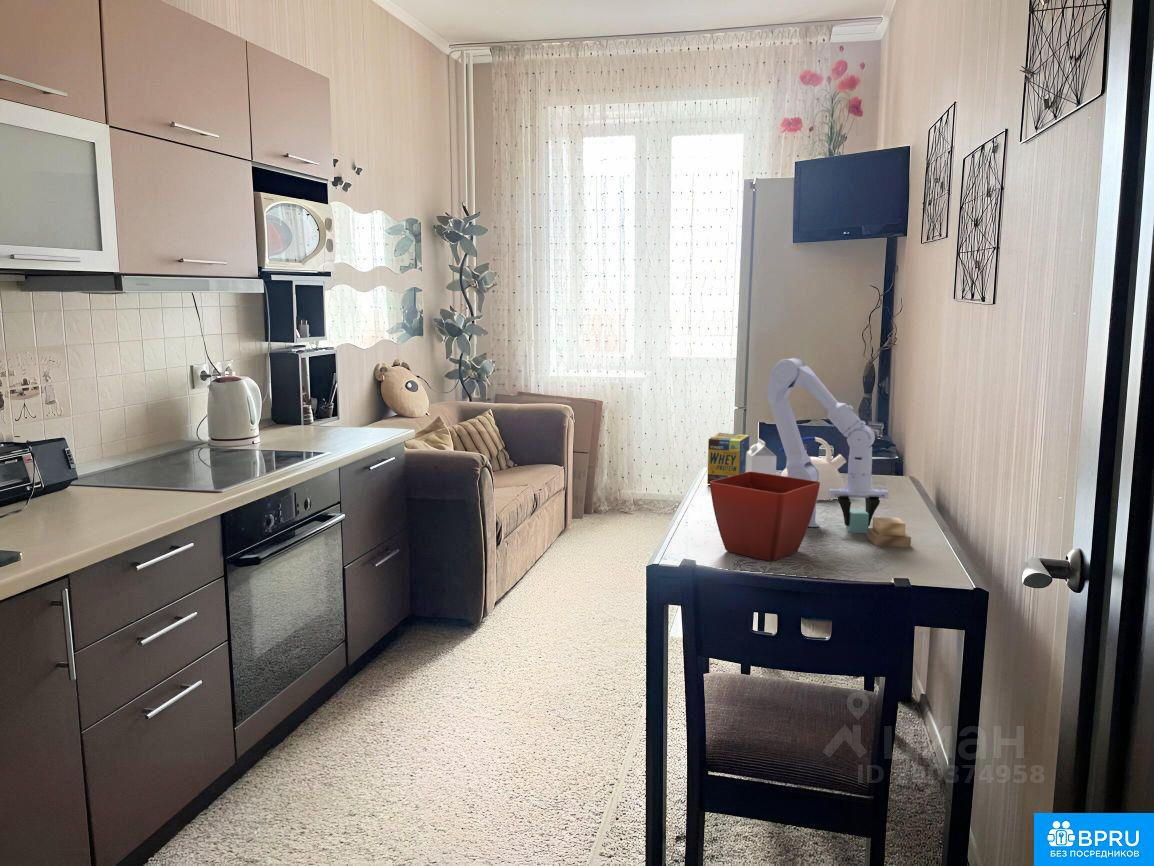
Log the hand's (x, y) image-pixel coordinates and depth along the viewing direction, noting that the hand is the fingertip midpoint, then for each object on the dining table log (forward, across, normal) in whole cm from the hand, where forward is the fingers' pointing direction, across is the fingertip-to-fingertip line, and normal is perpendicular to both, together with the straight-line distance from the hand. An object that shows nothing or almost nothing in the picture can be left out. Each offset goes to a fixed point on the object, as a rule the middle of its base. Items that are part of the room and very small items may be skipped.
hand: (857, 525), depth 220 cm
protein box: (+2, -27, +60) cm, 66 cm away
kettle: (+2, -3, +45) cm, 45 cm away
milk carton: (+2, -21, +28) cm, 35 cm away
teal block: (+2, 0, 0) cm, 2 cm away
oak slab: (-1, +5, -11) cm, 12 cm away
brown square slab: (+2, +5, -11) cm, 12 cm away
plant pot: (+2, -27, -22) cm, 35 cm away
